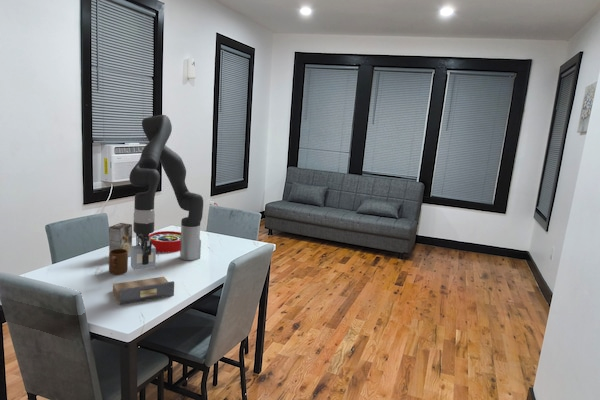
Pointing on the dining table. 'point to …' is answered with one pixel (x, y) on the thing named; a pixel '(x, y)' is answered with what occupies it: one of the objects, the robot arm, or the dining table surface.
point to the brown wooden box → (143, 290)
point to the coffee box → (120, 237)
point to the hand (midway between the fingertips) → (143, 261)
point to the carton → (137, 258)
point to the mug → (118, 261)
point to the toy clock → (166, 241)
